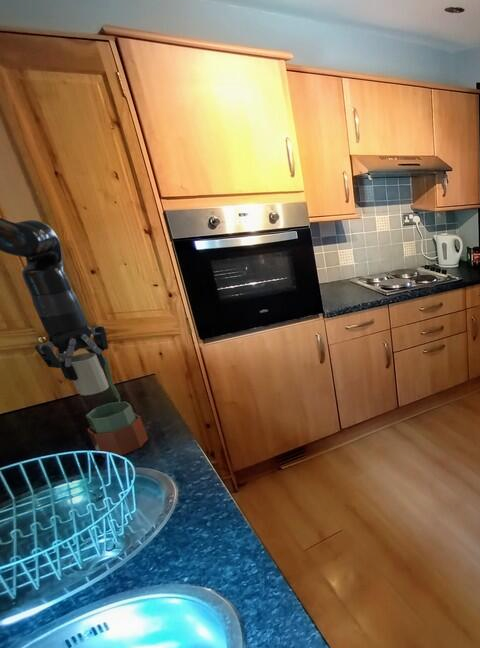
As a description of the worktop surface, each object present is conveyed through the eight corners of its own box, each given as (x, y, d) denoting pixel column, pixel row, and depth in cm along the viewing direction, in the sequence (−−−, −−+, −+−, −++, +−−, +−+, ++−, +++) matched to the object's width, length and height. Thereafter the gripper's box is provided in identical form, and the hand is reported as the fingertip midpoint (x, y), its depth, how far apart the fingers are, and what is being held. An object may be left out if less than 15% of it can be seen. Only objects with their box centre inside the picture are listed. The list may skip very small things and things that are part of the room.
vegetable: (104, 408, 138) (78, 348, 129) (108, 402, 141) (84, 343, 133) (122, 405, 139) (98, 346, 131) (126, 399, 143) (103, 341, 135)
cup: (84, 397, 110) (69, 364, 107) (75, 391, 113) (60, 359, 109) (113, 388, 115) (99, 356, 111) (103, 382, 118) (90, 351, 114)
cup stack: (108, 461, 114) (92, 424, 110) (92, 448, 119) (76, 413, 115) (153, 441, 122) (140, 406, 118) (137, 430, 127) (123, 396, 122)
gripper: (79, 299, 112) (104, 360, 119) (10, 318, 100) (42, 385, 106) (103, 301, 111) (127, 363, 118) (37, 321, 98) (68, 389, 105)
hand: (87, 373), depth 112 cm, fingers closed on cup, 6 cm apart
